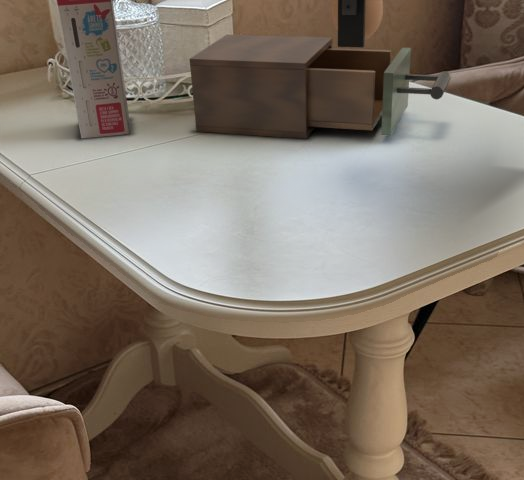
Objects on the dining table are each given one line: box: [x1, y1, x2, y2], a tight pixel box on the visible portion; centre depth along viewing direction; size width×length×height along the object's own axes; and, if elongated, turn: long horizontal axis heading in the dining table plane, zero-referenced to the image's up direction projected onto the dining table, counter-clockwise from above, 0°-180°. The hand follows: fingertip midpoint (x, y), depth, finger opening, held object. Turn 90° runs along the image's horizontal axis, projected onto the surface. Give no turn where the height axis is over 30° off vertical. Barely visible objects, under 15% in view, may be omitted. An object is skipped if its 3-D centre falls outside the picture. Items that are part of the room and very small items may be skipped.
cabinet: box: [189, 34, 333, 140], centre depth 108 cm, size 16×14×10 cm
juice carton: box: [56, 0, 131, 139], centre depth 104 cm, size 7×7×22 cm
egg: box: [331, 0, 384, 41], centre depth 84 cm, size 5×5×7 cm
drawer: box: [307, 47, 452, 137], centre depth 104 cm, size 20×12×8 cm, turn 71°
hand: (357, 38), depth 86 cm, fingers closed on egg, 5 cm apart
